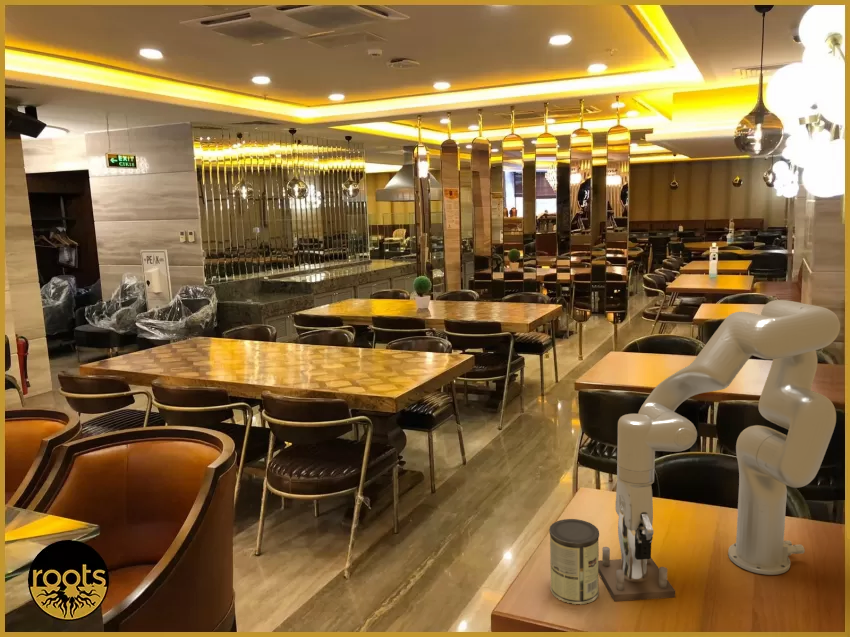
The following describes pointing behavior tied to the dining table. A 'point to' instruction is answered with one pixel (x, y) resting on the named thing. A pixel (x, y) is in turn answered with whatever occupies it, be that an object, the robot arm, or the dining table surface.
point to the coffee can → (574, 561)
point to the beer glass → (630, 553)
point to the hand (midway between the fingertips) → (634, 546)
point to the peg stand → (629, 590)
